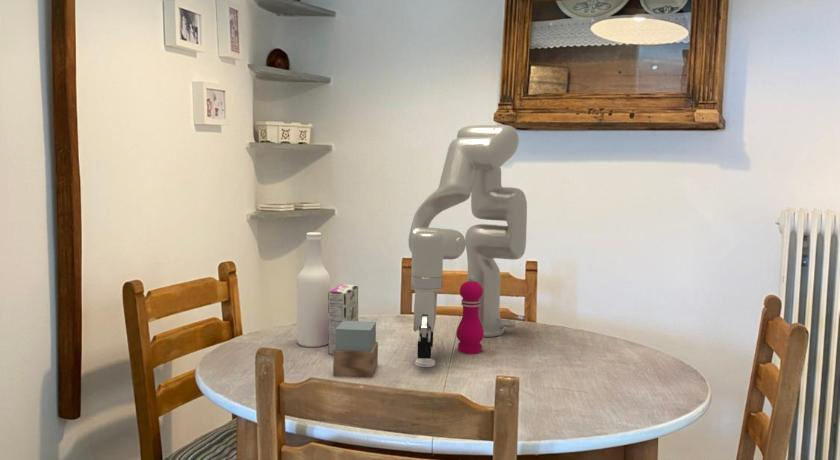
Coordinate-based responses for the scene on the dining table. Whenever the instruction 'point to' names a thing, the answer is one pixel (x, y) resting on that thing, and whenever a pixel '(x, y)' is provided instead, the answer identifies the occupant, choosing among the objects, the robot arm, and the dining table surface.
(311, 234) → the white bottle
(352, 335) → the slate top block
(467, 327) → the pepper mill
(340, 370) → the walnut base block
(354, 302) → the candy bar box
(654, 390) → the dining table surface
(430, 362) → the chess piece
